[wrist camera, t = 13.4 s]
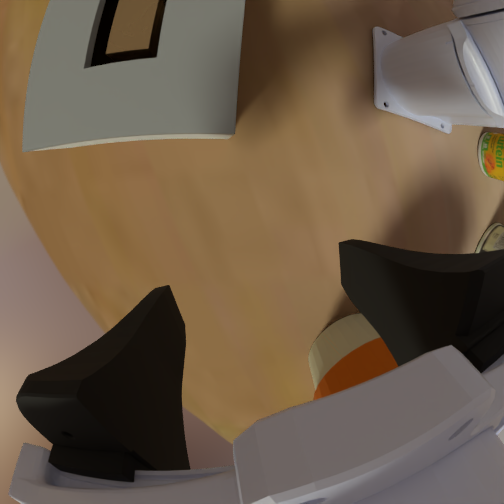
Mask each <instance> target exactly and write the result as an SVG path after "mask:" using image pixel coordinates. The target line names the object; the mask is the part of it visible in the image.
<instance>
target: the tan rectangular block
mask: <svg viewBox="0 0 504 504" xmlns="http://www.w3.org/2000/svg"><path fill="white" fill-rule="evenodd" d="M164 12H165V7H164V4H163V1H162V0H119V2H118V6H117V9H116V12H115V16H114V20H113V24H112V27H111V32H110V36H109V40H108V45H107V50H106V55H107V56H109V57H110V58H111V59H112V60H113V61H115V62H122V61H129V60H137V59H147V58H157V52H158V46H159V39H160V33H161V27H162V22H163V17H164Z"/></svg>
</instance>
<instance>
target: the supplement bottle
mask: <svg viewBox="0 0 504 504" xmlns="http://www.w3.org/2000/svg"><path fill="white" fill-rule="evenodd" d="M478 159H479V164H480V167H481V170H482V172H483V173H484V174H485V175H486V176H488V177H491V178H495V179H498V180H502V181H504V134H499V133H492V132H486V133H484V134H483V135H482V136H481V138H480V140H479V144H478Z"/></svg>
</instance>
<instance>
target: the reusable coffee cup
mask: <svg viewBox="0 0 504 504" xmlns="http://www.w3.org/2000/svg"><path fill="white" fill-rule="evenodd" d="M308 361H309V366H310V370H311V374H312V378H313V382H314V386H315V390H316V391H315V394H314V400H317V399H320V398H323V397H326V396H329V395H331V394H334V393H337V392H340V391H343V390H345V389H348V388H351V387H353V386H356V385H358V384H361V383H363V382H366V381H368V380H370V379H373V378H375V377H377V376H380V375H382V374H384V373H386V372H389V371H391V370H393V369H395V368H397V367H398V365H397V363H396V361H395V359H394V358H393V356H392V354H391V352H390V351H389V349H388V347H387V346H386V344H385V343H384V341H383V339H382V338H381V337H380V335H379V334H378V333H377V331H376V330H375V329H374V328H373V327H372V325H371V324H370V323H369V322H368V321H367V319H366V318H365V317H364V316H363V315H362V313H357V314H353V315H349V316H347V317H344V318H342V319H340V320H338V321H336V322H334V323H333V324H332V325H330V326H329V327H327V328H326V329H325V330H324V331H323V332H322V333H321V334H320V335H319V336H318V338H317V339H316V340H315V342H314V343H313V345H312V347H311V349H310V352H309V358H308Z"/></svg>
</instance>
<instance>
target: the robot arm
mask: <svg viewBox="0 0 504 504" xmlns="http://www.w3.org/2000/svg"><path fill="white" fill-rule="evenodd" d="M452 12H453V13H454V15H455V16H456V17H458V18H456V19H454V20H452V21H448V22H445V23H442V24H439V25H436V26H433V27H430V28H427V29H425V30H422V31H419V32H416V33H414V34H411V35H409V36H406V37H404V38H403V37H401V36H399V35H397V34H395V33H392V32H390V31H388V30H386V29H383V28H381V27H378V26H376V27H374V28H373V46H374V104H375V106H376V107H377V108H378V109H381V110H384V111H388V112H391V113H394V114H397V115H400V116H403V117H406V118H409V119H411V120H414V121H417V122H419V123H422V124H425V125H427V126H430V127H432V128H435V129H437V130H440V131H442V132H444V133H448V134H450V133H451V129H452V124H456V125H472V126H484V127H498V128H504V0H454V1H453V8H452ZM382 32H383V33H384V35H383V33H382ZM384 102H385V103H386V107H385V106H384ZM339 255H340V270H341V285H342V286H343V288H344V290H345V292H346V293H347V295H348V297H349V298H350V300H351V301H352V302H353V304H354V305H355V306H356V307H357V309H358V310H359V311H360V312H361V313H362V315H363V316H364V317H365V318H366V319H367V321H368V322H369V323H370V324H371V325H372V327H373V328H374V329H375V330H376V331H377V333H378V334H379V335H380V337H381V338H382V339H383V341H384V343H385V344H386V346H387V347H388V349H389V351H390V352H391V354H392V356H393V358H394V359H395V361H396V363H397V365H398V367H397V368H395V369H393V370H391V371H389V372H386V373H384V374H382V375H380V376H377V377H375V378H373V379H370V380H368V381H366V382H363V383H361V384H358V385H356V386H353V387H351V388H348V389H345V390H343V391H340V392H337V393H334V394H331V395H329V396H326V397H323V398H320V399H317V400H313V401H310V402H307V403H304V404H300V405H297V406H293V407H290V408H287V409H285V410H283V411H280V412H278V413H275V414H273V415H270V416H267V417H265V418H262V419H260V420H257V421H256V422H255V423H254V424H253V425H251V426H250V427H249V428H248V429H247V430H245V431H244V432H243V433H242V434H240V435H239V436H238V437H237V438H236V439H235V440H234V442H233V455H234V463H235V465H231V466H224V467H216V468H206V469H194V470H190V466H189V460H188V454H187V448H186V441H185V434H184V425H183V413H182V379H183V369H184V359H185V348H186V334H185V323H184V321H183V319H182V316H181V314H180V311H179V309H178V306H177V304H176V301H175V299H174V296H173V293H172V291H171V288H170V286H169V285H167V286H162V287H158V288H155V289H154V290H152V291H151V292H150V293H149V294H148V295H147V296H146V297H145V298H144V299H143V300H142V301H141V302H140V303H139V304H138V305H137V306H136V307H135V308H134V309H133V310H132V311H131V312H129V313H128V314H127V315H126V316H125V317H124V318H123V319H122V320H121V321H120V322H119V323H118V324H117V325H115V326H114V327H113V328H112V329H111V330H110V331H108V332H107V333H106V334H105V335H103V336H102V337H101V338H99V339H98V340H97V341H95V342H94V343H92V344H91V345H89V346H87V347H86V348H85V349H83V350H81V351H80V352H78V353H76V354H75V355H73V356H71V357H69V358H67V359H66V360H63V361H61V362H60V363H58V364H55V365H53V366H51V367H48V368H45V369H43V370H40V371H38V372H35V373H32V374H30V375H28V376H27V378H26V379H25V381H24V383H23V385H22V387H21V389H20V391H19V393H18V394H17V397H16V402H17V404H18V408H19V410H20V411H21V413H22V414H23V416H24V417H25V418H26V419H27V420H28V421H29V423H30V424H31V425H32V426H33V427H34V428H36V429H37V430H38V431H39V432H40V433H41V434H42V435H43V436H44V437H45V438H47V440H49V441H50V442H51V443H52V444H53V446H52V449H51V451H50V450H48V449H46V448H43V447H40V446H36V445H32V444H29V443H23V446H22V449H21V452H20V455H19V458H18V461H17V464H16V468H15V471H14V474H13V478H12V482H11V485H10V490H9V496H10V497H12V498H13V499H15V500H16V501H18V502H20V503H21V504H504V444H503V443H502V441H501V440H500V439H499V438H498V436H497V435H498V434H499V433H500V432H501V431H502V430H503V429H504V249H500V250H494V251H488V252H482V253H472V254H433V253H423V252H415V251H409V250H404V249H399V248H394V247H389V246H385V245H380V244H376V243H372V242H367V241H362V240H354V239H351V240H347V241H343V242H339Z"/></svg>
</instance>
